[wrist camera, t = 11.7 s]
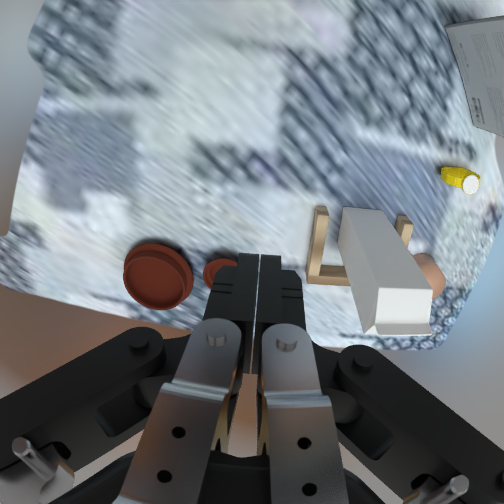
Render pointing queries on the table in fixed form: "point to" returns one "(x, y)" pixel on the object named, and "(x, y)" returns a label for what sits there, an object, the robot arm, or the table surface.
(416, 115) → the table surface
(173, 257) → the pottery
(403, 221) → the display frame
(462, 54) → the hard drive box
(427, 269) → the peach rounded capsule
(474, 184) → the watch
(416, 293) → the milk
